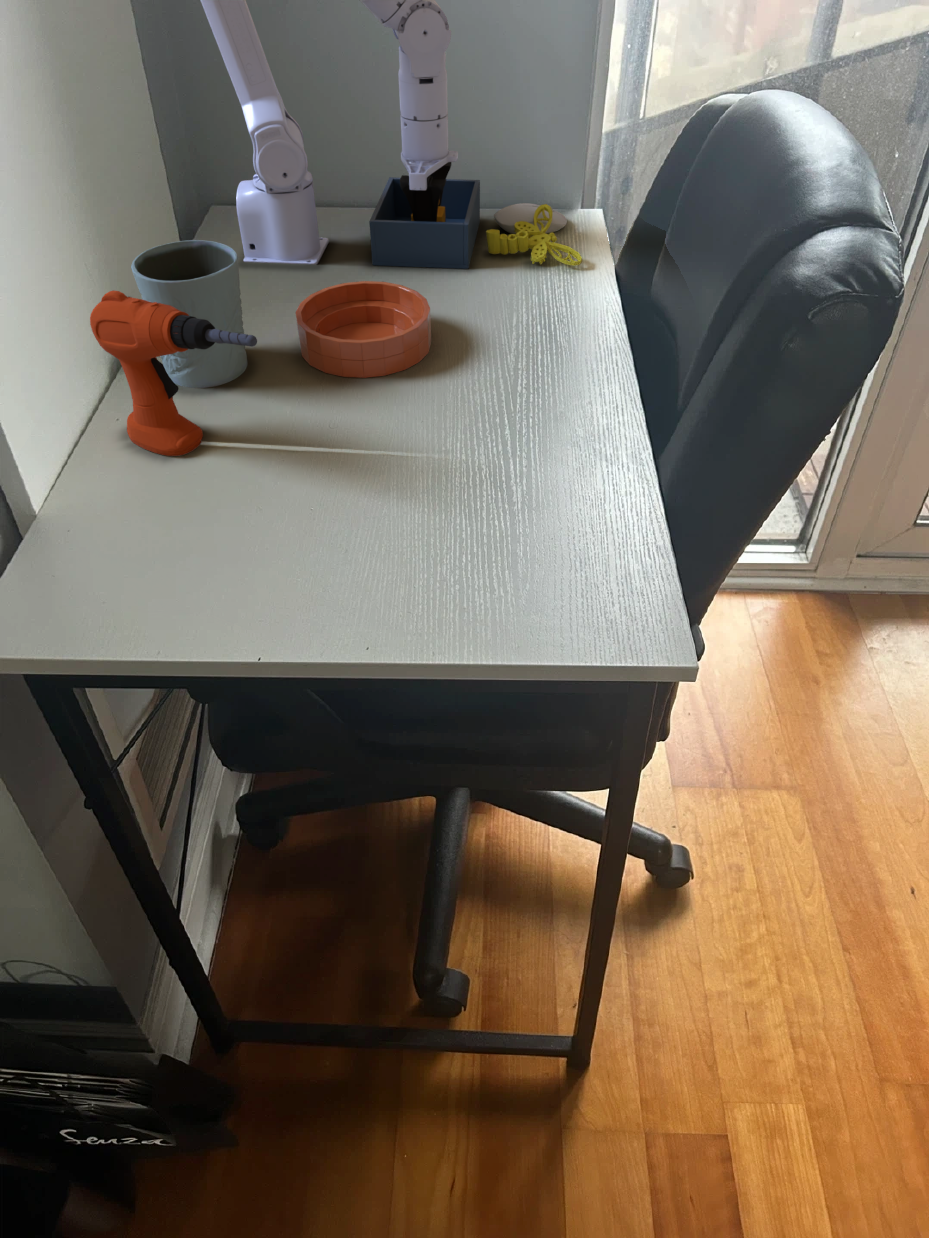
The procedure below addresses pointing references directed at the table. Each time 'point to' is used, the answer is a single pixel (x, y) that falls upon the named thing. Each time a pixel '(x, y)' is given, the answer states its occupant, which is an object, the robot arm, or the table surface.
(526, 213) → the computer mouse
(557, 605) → the table surface
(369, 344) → the bowl
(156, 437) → the toy drill
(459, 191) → the bin
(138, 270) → the grey blue pot
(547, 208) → the decorative insect
